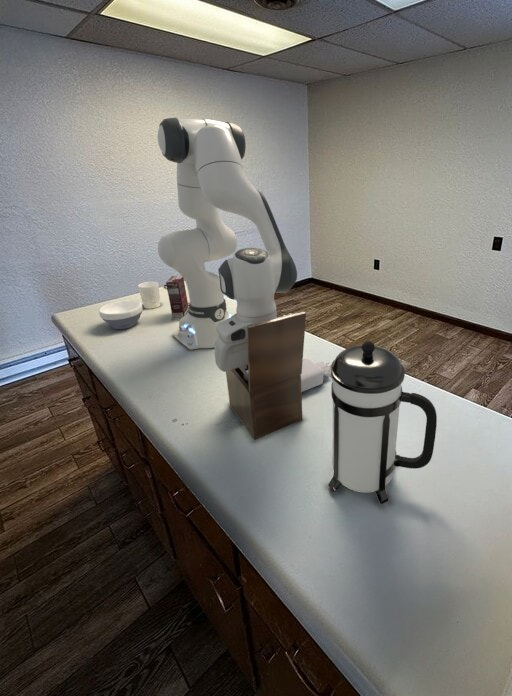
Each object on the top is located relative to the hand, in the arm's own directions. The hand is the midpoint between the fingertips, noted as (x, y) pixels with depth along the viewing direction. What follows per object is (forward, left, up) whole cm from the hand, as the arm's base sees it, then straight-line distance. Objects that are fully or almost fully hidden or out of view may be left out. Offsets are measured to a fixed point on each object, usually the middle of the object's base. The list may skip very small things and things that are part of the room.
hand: (261, 374), depth 86 cm
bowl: (-82, +6, -11) cm, 83 cm away
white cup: (-92, +23, -11) cm, 95 cm away
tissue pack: (0, +18, -11) cm, 21 cm away
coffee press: (+31, -2, -11) cm, 33 cm away
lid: (+8, -3, +10) cm, 14 cm away
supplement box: (-72, +24, -11) cm, 77 cm away
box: (0, 0, -11) cm, 11 cm away
